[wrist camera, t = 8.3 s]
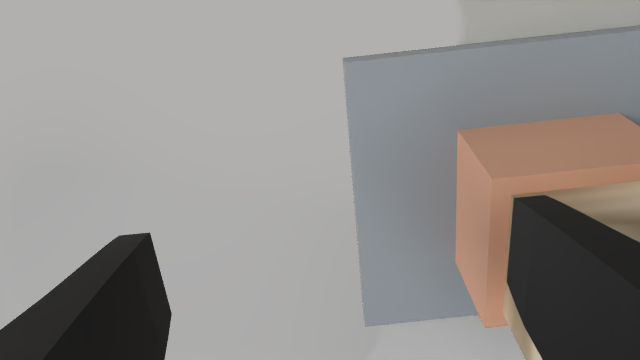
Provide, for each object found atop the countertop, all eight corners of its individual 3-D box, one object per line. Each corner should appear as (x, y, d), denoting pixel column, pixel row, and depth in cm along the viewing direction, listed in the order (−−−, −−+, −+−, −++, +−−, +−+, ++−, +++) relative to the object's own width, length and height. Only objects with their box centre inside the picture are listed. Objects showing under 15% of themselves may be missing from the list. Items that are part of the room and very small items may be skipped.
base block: (455, 262, 23) (484, 327, 20) (457, 130, 21) (491, 179, 17) (597, 246, 23) (652, 310, 20) (619, 112, 20) (687, 158, 17)
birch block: (502, 313, 19) (565, 437, 15) (511, 195, 17) (586, 298, 13) (639, 299, 19) (741, 419, 15) (664, 178, 17) (793, 276, 13)
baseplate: (363, 317, 25) (365, 326, 25) (342, 58, 20) (343, 62, 19) (670, 285, 25) (678, 293, 25) (735, 15, 20) (747, 18, 19)
